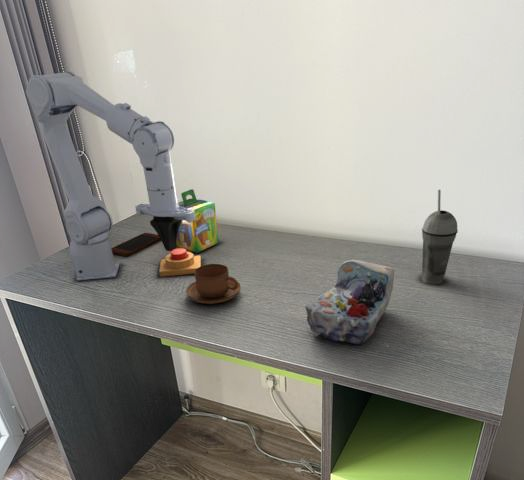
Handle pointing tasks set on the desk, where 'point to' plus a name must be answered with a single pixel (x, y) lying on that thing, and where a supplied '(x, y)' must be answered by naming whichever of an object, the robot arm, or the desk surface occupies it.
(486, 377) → the desk surface
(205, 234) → the chalk box
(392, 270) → the cell model
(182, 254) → the button
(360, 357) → the desk surface
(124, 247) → the smartphone
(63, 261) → the desk surface
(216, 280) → the cup and saucer
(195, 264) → the box
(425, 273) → the beverage cup
